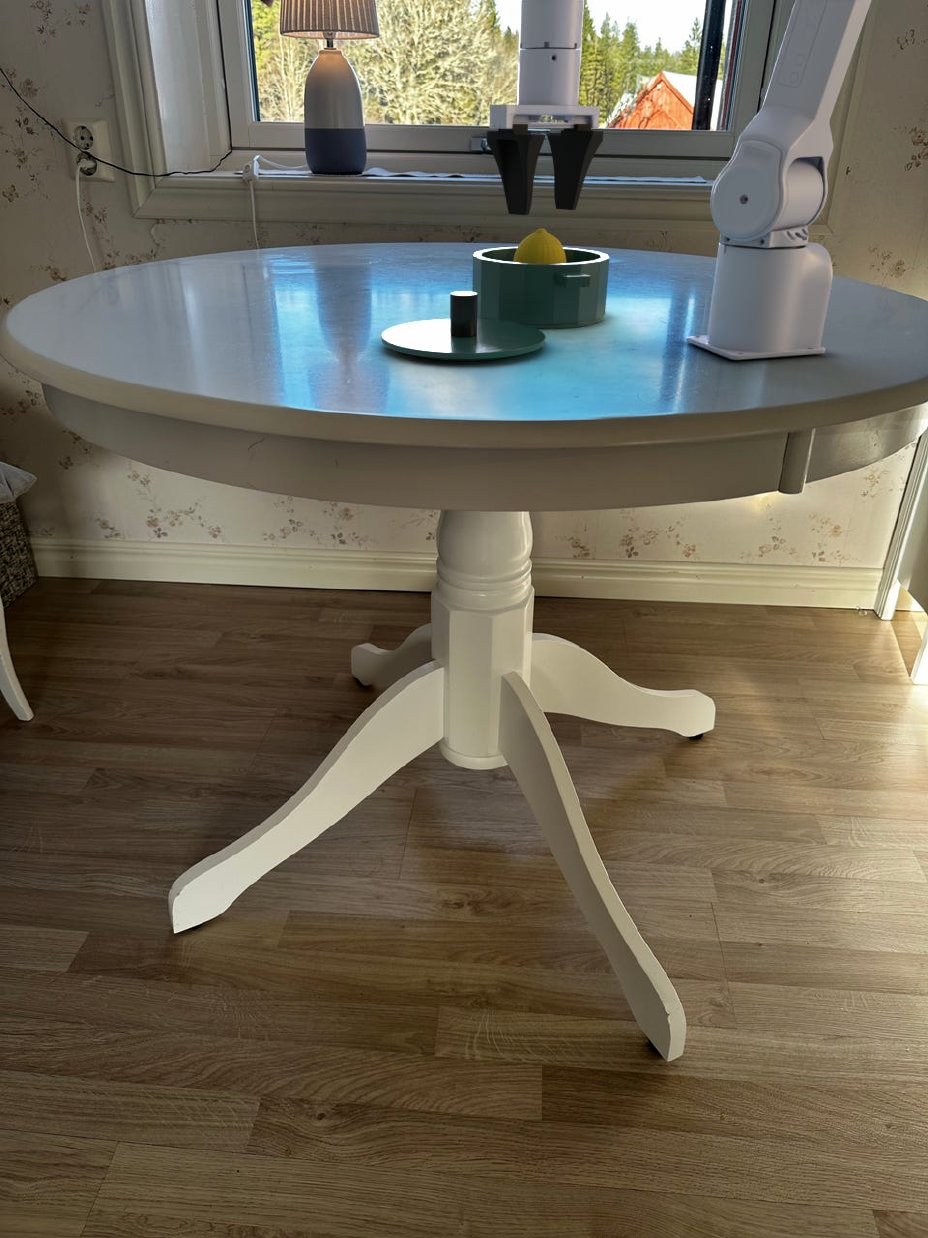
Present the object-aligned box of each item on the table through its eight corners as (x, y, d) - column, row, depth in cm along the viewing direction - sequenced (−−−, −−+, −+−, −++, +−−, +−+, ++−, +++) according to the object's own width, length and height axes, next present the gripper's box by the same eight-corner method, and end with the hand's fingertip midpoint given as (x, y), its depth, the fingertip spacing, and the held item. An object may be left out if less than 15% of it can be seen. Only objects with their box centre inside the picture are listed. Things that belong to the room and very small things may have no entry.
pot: (562, 297, 106) (565, 241, 103) (639, 329, 90) (645, 265, 87) (448, 302, 102) (448, 245, 99) (508, 337, 86) (510, 271, 83)
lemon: (520, 317, 93) (524, 231, 89) (504, 307, 97) (506, 225, 94) (572, 315, 94) (577, 230, 90) (553, 305, 99) (557, 224, 95)
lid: (511, 326, 91) (512, 277, 88) (571, 359, 79) (574, 303, 76) (365, 335, 87) (363, 283, 84) (405, 371, 75) (404, 312, 72)
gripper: (562, 55, 92) (554, 204, 98) (464, 47, 82) (463, 213, 89) (621, 53, 88) (610, 209, 94) (526, 44, 78) (520, 218, 85)
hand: (542, 211), depth 91 cm, fingers open, 7 cm apart
